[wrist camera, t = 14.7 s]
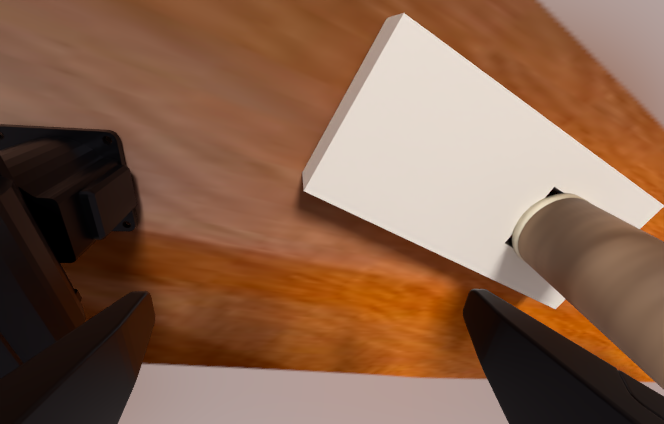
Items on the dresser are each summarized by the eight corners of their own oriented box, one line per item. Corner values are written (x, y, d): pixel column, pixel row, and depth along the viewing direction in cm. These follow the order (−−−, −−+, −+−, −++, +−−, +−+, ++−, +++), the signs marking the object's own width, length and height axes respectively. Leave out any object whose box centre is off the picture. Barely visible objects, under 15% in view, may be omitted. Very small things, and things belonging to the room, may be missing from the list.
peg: (490, 249, 25) (658, 422, 13) (492, 188, 23) (702, 336, 11) (556, 234, 25) (781, 394, 14) (566, 171, 23) (851, 301, 11)
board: (302, 172, 21) (303, 191, 18) (387, 18, 18) (403, 12, 15) (530, 283, 28) (555, 309, 25) (623, 188, 24) (664, 205, 22)
